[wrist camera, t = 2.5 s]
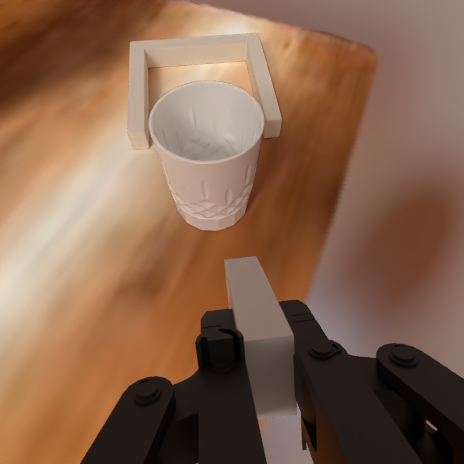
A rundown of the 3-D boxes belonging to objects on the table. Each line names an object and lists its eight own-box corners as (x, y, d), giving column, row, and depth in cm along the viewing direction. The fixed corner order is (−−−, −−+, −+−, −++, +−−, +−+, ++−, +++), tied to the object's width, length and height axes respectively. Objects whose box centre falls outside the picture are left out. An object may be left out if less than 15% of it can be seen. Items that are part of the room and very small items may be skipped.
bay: (278, 136, 36) (282, 119, 34) (133, 149, 35) (127, 132, 33) (256, 51, 43) (258, 32, 41) (134, 60, 42) (129, 41, 39)
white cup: (234, 158, 34) (236, 69, 25) (268, 219, 31) (285, 141, 22) (159, 182, 33) (134, 97, 24) (187, 250, 29) (170, 178, 20)
